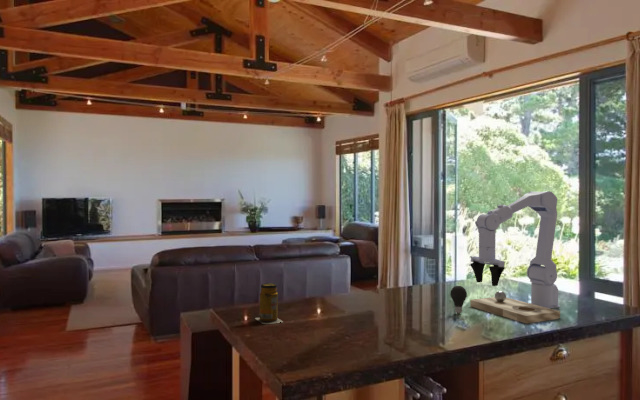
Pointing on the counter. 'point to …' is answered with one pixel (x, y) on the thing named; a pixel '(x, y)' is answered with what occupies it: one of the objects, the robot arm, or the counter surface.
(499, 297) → the ball
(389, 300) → the counter surface
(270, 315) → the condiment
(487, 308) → the deck
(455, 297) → the light bulb
